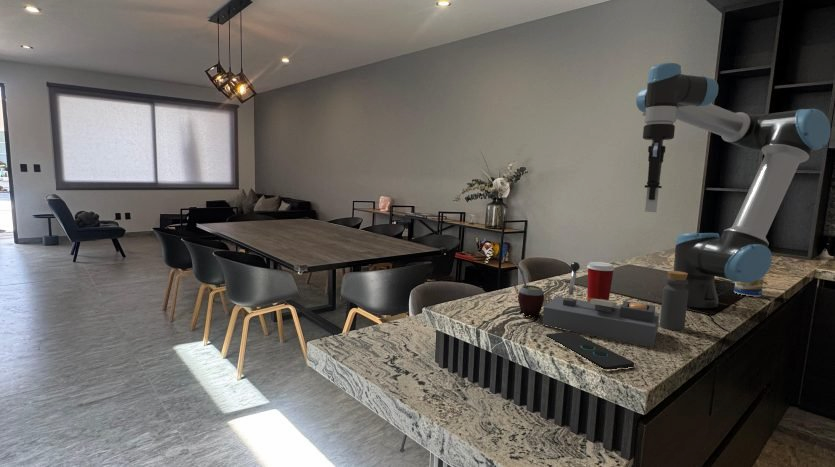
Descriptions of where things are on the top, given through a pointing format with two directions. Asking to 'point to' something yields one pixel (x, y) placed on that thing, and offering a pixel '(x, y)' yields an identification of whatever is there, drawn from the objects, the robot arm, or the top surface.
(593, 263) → the paper cup
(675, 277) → the bottle
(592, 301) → the plate
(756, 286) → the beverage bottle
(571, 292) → the toggle lever
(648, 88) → the robot arm
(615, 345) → the top surface
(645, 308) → the push button
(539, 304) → the mate gourd
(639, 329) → the console
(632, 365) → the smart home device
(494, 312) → the top surface
